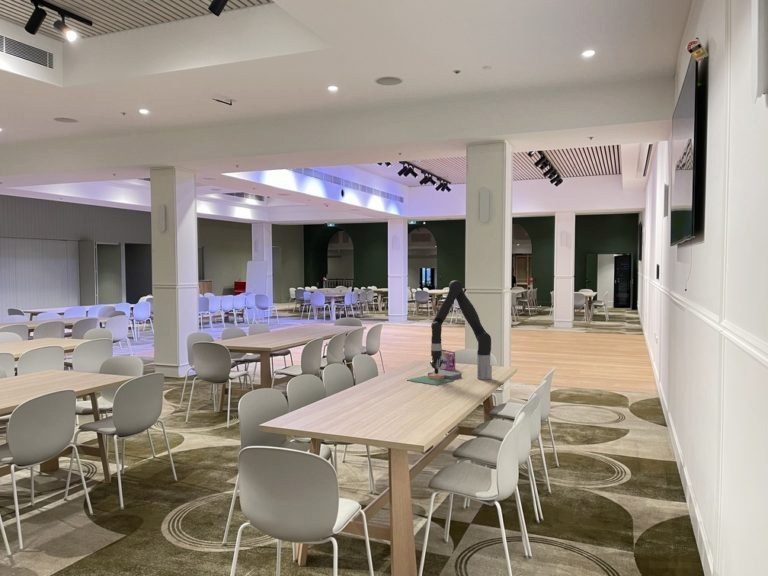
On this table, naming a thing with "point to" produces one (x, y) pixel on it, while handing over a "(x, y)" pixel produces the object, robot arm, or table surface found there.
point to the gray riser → (448, 374)
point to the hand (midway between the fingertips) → (436, 373)
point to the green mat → (429, 380)
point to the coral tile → (436, 376)
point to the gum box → (448, 360)
